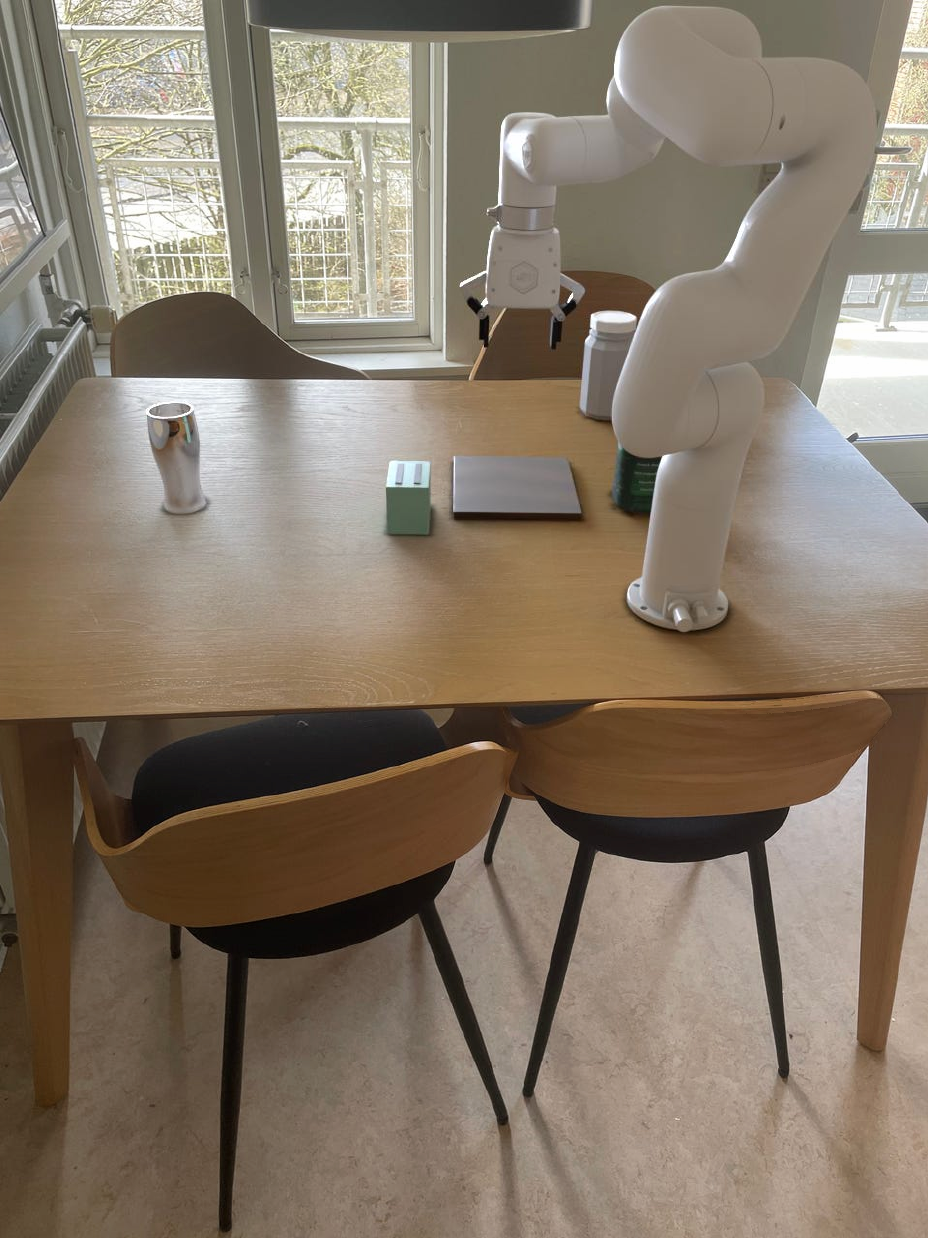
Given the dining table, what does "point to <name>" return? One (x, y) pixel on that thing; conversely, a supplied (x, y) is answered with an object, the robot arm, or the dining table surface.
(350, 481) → the dining table surface
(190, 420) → the beer glass
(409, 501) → the toaster
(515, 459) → the board
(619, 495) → the coffee jar
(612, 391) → the jar
